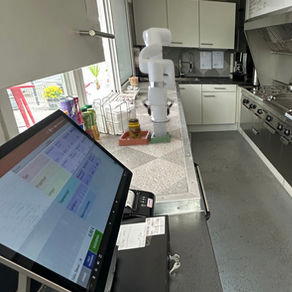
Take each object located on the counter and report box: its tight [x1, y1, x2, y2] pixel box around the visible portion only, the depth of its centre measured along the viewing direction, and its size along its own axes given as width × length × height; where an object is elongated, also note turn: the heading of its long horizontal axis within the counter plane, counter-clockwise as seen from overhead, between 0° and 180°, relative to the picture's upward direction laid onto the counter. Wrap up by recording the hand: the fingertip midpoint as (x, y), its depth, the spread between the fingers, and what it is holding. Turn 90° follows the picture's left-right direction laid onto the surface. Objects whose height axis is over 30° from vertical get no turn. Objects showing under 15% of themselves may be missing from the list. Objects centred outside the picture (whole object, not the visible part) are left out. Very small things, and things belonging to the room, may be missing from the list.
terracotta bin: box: [118, 129, 152, 146], centre depth 136 cm, size 16×14×4 cm
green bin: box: [150, 131, 171, 144], centre depth 138 cm, size 11×9×4 cm
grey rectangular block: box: [152, 121, 168, 137], centre depth 137 cm, size 4×7×10 cm, turn 113°
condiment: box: [127, 118, 144, 139], centre depth 135 cm, size 7×8×12 cm
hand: (159, 115), depth 134 cm, fingers open, 9 cm apart
